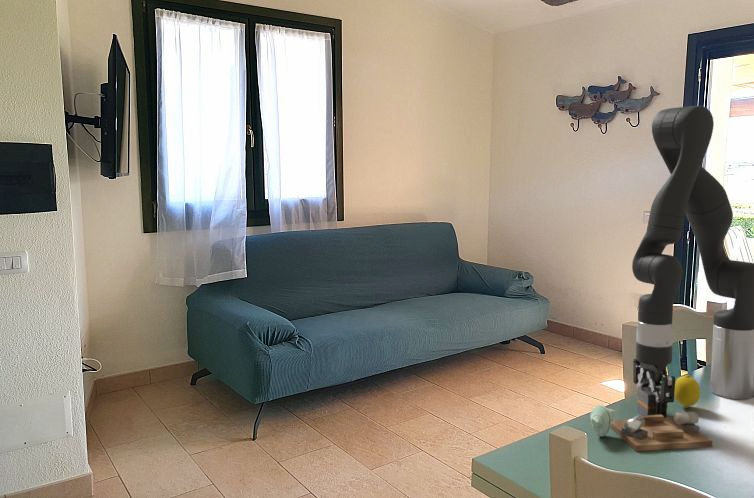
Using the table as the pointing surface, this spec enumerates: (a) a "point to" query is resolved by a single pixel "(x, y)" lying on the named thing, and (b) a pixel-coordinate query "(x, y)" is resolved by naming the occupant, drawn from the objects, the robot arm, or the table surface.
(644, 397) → the grey striped block
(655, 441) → the wooden assembly base
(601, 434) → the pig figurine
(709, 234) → the robot arm
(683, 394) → the lemon
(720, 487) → the table surface
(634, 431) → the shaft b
